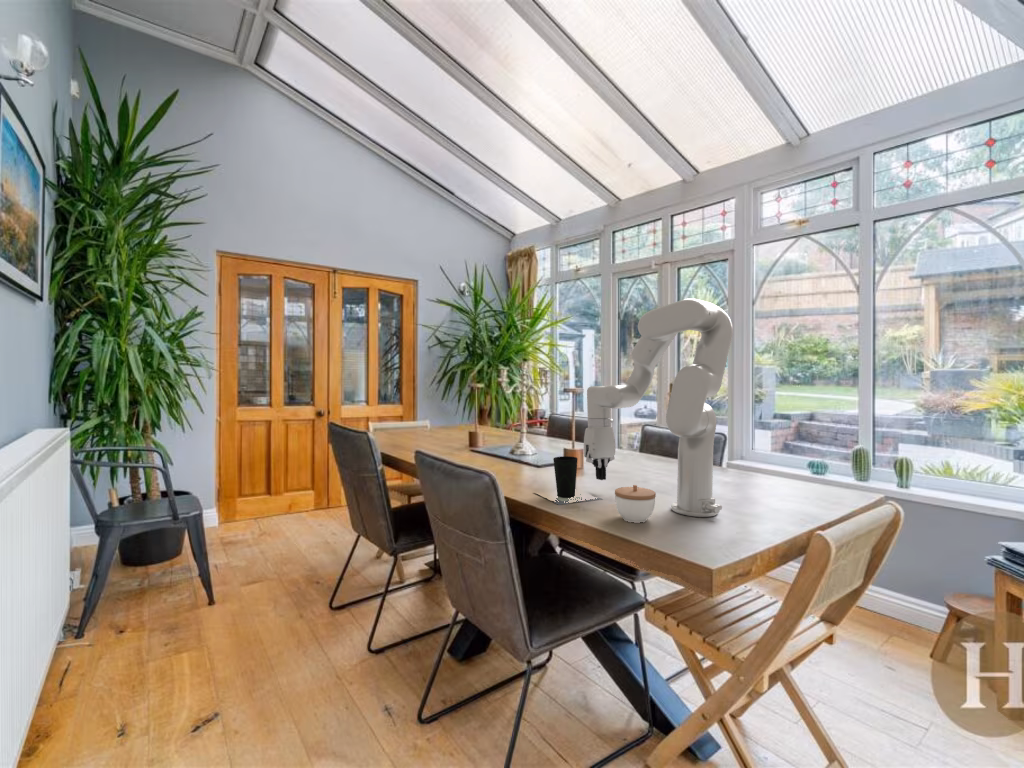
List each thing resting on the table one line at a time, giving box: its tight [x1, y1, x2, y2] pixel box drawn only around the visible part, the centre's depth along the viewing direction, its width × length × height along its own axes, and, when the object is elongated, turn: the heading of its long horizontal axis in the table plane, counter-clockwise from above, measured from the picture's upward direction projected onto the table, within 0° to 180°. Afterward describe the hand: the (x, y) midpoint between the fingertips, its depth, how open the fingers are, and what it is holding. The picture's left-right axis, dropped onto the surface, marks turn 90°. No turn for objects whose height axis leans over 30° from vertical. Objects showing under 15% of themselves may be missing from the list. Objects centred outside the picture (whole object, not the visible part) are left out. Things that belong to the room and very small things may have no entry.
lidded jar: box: [614, 484, 657, 524], centre depth 136 cm, size 11×11×9 cm
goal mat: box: [553, 494, 602, 506], centre depth 160 cm, size 16×16×1 cm
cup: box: [552, 455, 578, 498], centre depth 160 cm, size 8×8×12 cm
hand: (601, 479), depth 165 cm, fingers closed
